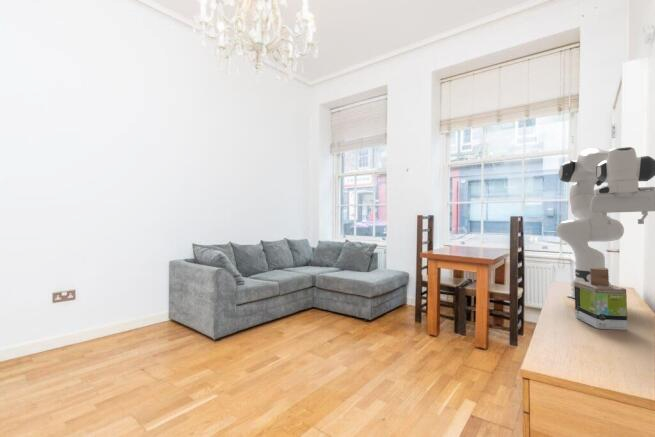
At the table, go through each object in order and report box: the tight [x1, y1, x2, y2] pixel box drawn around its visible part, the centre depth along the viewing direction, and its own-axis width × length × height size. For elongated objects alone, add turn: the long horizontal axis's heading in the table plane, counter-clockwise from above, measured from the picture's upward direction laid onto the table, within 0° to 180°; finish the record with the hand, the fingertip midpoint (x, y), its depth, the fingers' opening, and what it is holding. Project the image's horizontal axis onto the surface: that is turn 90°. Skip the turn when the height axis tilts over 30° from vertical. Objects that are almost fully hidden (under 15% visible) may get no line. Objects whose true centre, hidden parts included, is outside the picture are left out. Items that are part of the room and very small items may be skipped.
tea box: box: [574, 282, 628, 331], centre depth 124 cm, size 15×10×15 cm, turn 168°
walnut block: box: [590, 267, 610, 286], centre depth 124 cm, size 5×5×6 cm
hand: (624, 224), depth 127 cm, fingers open, 8 cm apart
